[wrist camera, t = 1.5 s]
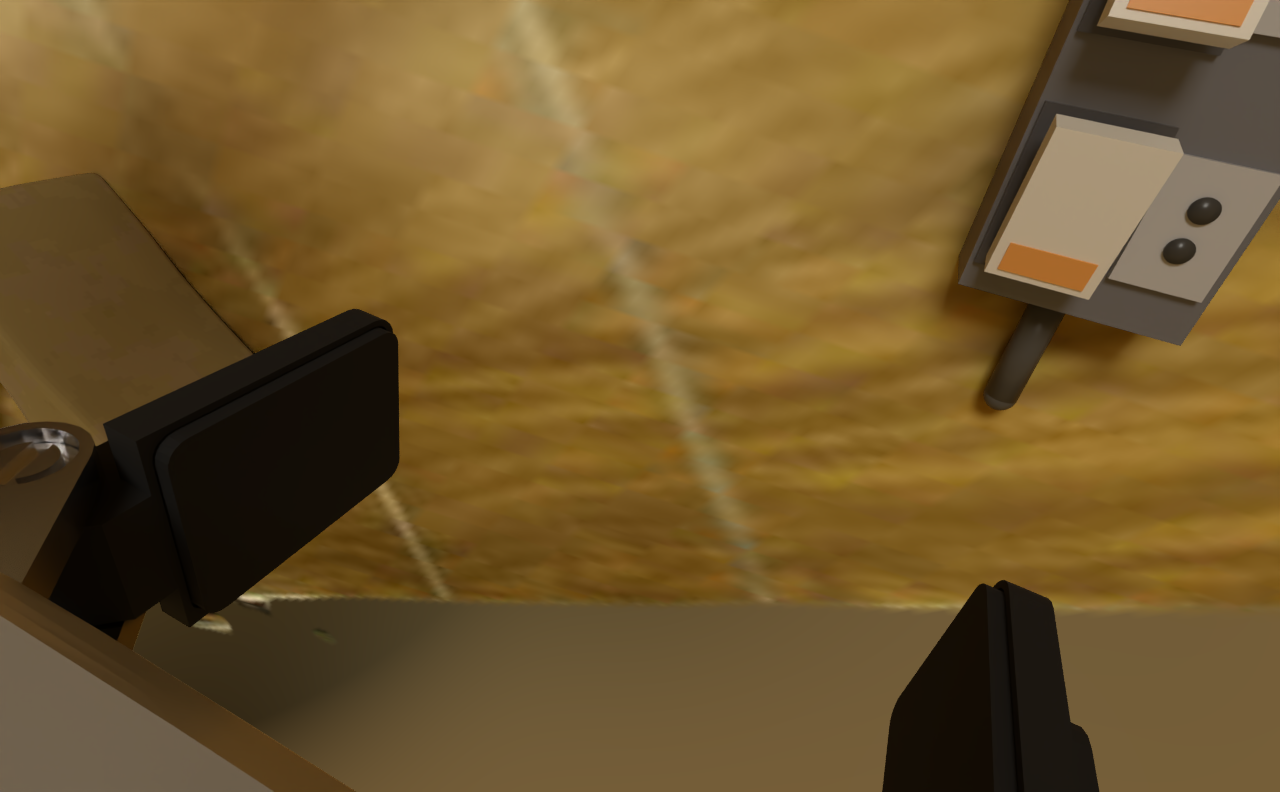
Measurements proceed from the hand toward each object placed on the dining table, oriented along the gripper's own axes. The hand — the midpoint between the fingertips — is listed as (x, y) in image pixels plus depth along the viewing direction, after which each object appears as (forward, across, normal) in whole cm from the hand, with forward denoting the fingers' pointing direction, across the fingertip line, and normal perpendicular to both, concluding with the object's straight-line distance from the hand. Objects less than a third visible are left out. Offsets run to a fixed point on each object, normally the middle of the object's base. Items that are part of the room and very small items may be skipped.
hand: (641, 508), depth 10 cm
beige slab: (+29, +54, +26) cm, 67 cm away
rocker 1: (+23, -8, -2) cm, 24 cm away
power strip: (+29, -10, -3) cm, 31 cm away
